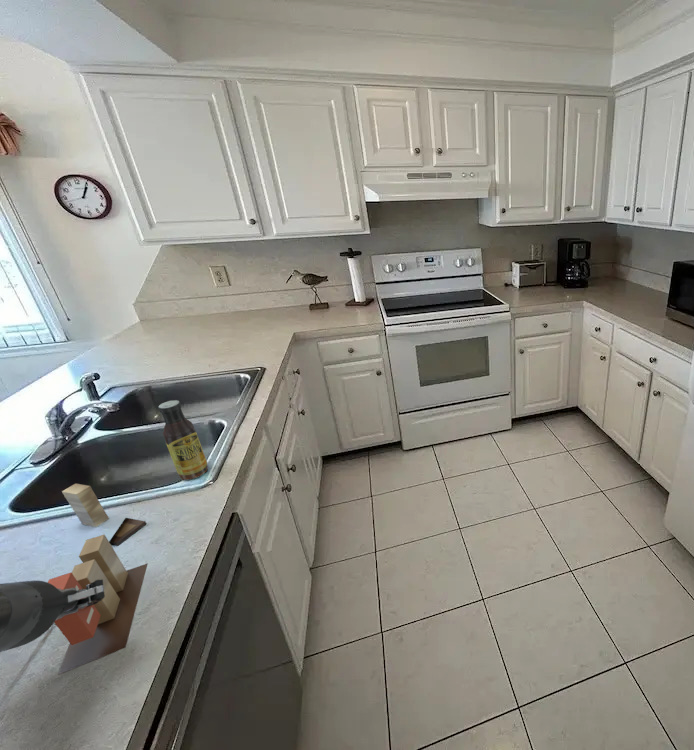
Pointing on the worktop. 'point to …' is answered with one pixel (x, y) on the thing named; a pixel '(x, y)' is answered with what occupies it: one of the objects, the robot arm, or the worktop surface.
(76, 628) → the orange brick
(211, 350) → the worktop surface
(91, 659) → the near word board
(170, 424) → the sauce bottle
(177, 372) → the worktop surface
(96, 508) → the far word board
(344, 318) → the worktop surface
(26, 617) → the robot arm
